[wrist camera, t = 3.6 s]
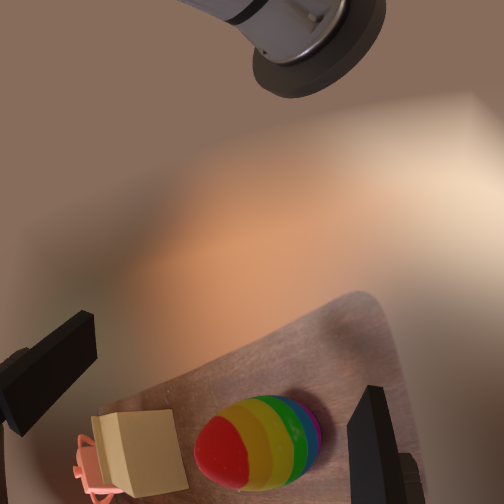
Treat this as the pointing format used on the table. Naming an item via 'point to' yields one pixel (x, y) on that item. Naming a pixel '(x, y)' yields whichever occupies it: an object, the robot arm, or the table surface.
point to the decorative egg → (259, 444)
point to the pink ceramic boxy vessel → (92, 472)
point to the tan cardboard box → (140, 452)
